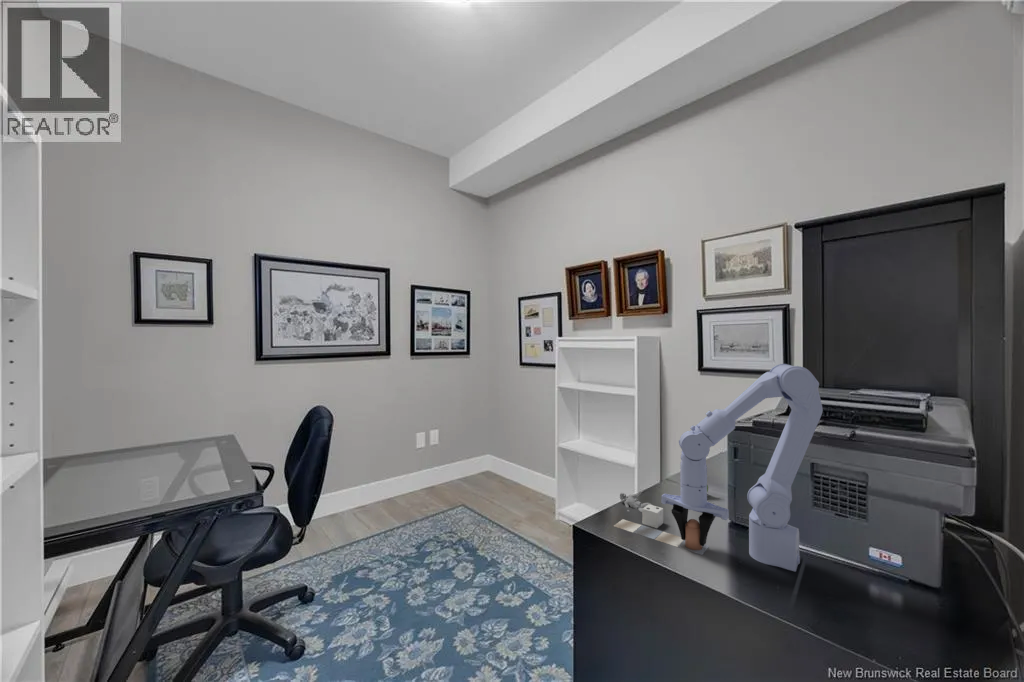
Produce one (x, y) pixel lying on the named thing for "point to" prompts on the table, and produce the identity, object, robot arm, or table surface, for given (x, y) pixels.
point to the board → (657, 535)
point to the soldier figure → (633, 501)
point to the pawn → (692, 535)
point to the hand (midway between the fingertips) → (693, 541)
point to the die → (652, 516)
